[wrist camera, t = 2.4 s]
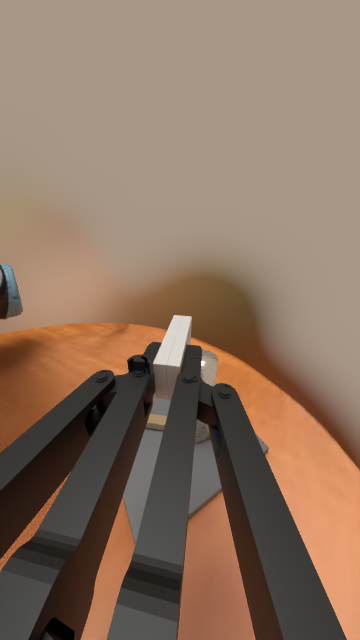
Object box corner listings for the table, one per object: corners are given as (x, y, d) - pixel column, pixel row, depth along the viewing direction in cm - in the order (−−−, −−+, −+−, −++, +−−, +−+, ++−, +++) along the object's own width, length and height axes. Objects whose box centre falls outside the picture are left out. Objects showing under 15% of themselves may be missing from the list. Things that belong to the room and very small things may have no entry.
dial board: (95, 388, 39) (93, 384, 38) (178, 357, 48) (178, 354, 48) (139, 560, 19) (138, 556, 18) (267, 451, 28) (269, 446, 28)
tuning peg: (102, 431, 29) (82, 358, 23) (116, 404, 34) (103, 337, 27) (223, 451, 27) (238, 376, 21) (222, 419, 31) (234, 350, 25)
